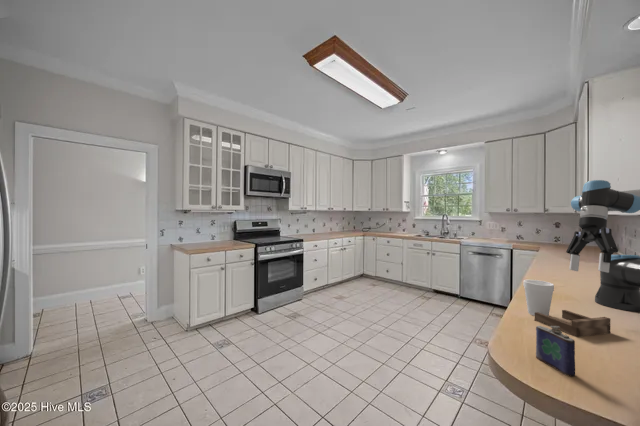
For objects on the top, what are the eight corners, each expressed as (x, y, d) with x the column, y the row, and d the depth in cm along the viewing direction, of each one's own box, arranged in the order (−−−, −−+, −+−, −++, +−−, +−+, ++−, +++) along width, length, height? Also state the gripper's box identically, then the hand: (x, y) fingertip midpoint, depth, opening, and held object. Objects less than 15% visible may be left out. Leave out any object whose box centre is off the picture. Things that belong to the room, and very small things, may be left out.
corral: (565, 317, 100) (565, 304, 100) (610, 333, 87) (610, 318, 87) (534, 320, 97) (534, 307, 97) (576, 337, 84) (576, 321, 84)
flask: (533, 356, 72) (533, 319, 72) (542, 356, 72) (542, 318, 72) (569, 377, 63) (570, 334, 63) (579, 377, 63) (580, 333, 63)
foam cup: (559, 320, 98) (559, 286, 98) (532, 318, 99) (532, 284, 99) (543, 311, 107) (543, 280, 107) (518, 309, 109) (518, 278, 109)
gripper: (559, 221, 114) (553, 267, 111) (610, 210, 90) (605, 269, 87) (578, 225, 113) (573, 272, 110) (636, 214, 88) (632, 275, 85)
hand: (587, 271), depth 98 cm, fingers open, 13 cm apart
